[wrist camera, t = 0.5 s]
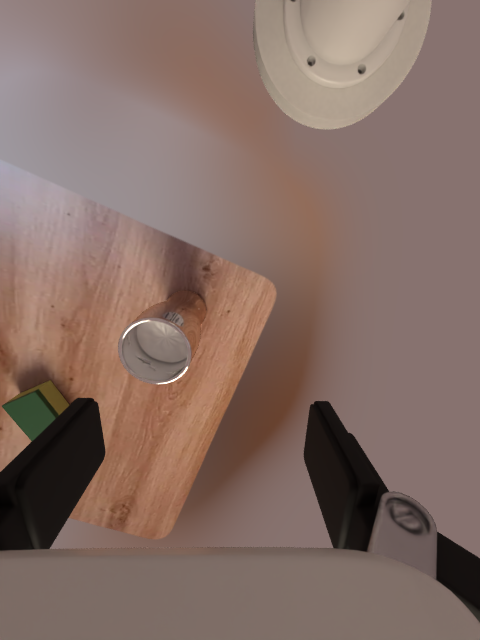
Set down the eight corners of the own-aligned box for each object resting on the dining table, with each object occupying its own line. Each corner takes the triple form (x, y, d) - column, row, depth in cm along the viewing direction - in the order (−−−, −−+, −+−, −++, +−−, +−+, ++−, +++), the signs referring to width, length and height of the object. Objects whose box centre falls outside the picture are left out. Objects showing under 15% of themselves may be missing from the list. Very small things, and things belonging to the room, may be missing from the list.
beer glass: (201, 338, 38) (181, 395, 23) (157, 323, 37) (107, 373, 22) (215, 296, 36) (203, 330, 21) (169, 280, 35) (124, 304, 21)
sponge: (19, 393, 40) (0, 406, 36) (50, 379, 39) (34, 391, 36) (53, 434, 42) (38, 449, 39) (83, 422, 42) (70, 436, 38)
